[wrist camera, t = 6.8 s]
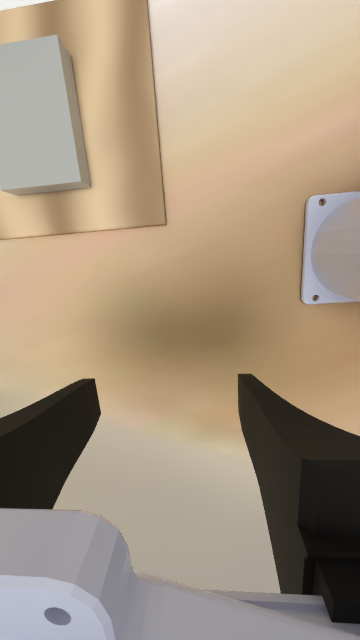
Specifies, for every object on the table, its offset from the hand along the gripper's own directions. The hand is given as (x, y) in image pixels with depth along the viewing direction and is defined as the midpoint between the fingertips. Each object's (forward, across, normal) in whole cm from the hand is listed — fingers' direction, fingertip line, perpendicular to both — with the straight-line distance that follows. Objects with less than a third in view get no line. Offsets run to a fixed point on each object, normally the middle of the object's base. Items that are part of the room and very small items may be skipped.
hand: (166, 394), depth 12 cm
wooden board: (+10, +8, -16) cm, 20 cm away
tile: (+8, +6, -16) cm, 19 cm away
